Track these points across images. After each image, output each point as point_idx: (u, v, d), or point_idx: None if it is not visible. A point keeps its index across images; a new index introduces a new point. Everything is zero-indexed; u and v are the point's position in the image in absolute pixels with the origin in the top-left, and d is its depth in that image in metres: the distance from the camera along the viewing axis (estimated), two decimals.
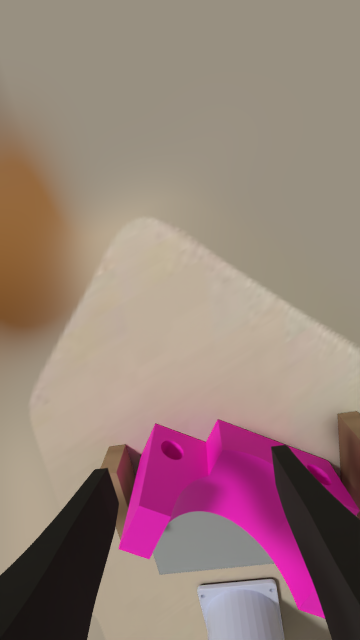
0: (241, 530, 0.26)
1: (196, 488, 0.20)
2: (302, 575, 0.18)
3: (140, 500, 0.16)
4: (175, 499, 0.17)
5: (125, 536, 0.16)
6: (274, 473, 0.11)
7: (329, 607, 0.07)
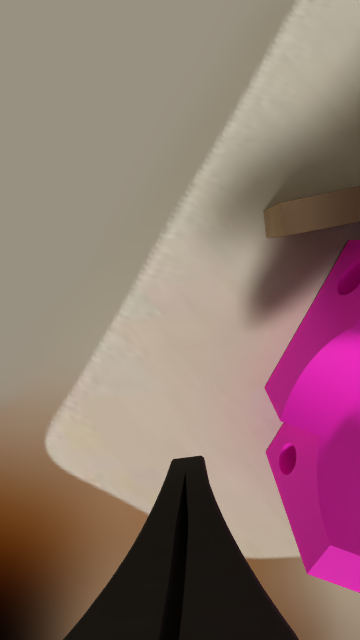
0: None
1: (336, 455, 0.15)
2: None
3: (305, 564, 0.13)
4: (320, 515, 0.13)
5: (357, 590, 0.13)
6: None
7: None
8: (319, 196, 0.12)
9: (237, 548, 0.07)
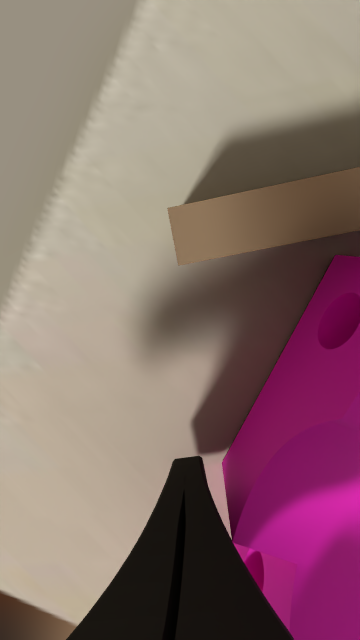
0: None
1: (321, 595, 0.09)
2: None
3: None
4: None
5: None
6: None
7: None
8: (233, 197, 0.07)
9: (234, 548, 0.07)
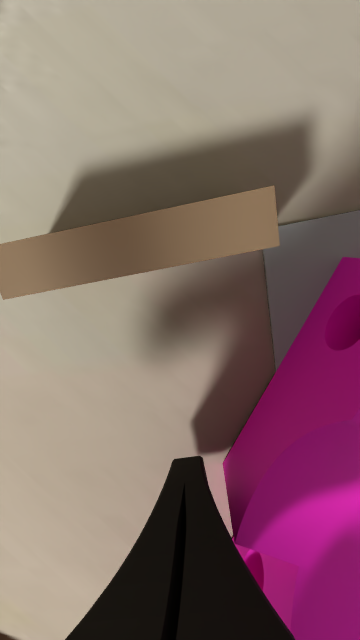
0: None
1: (322, 598, 0.09)
2: None
3: None
4: None
5: None
6: None
7: None
8: (41, 238, 0.07)
9: (235, 548, 0.07)
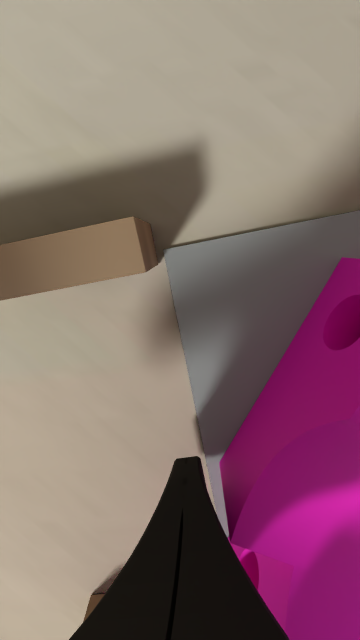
0: None
1: (316, 598, 0.09)
2: None
3: None
4: None
5: None
6: None
7: None
8: None
9: (231, 549, 0.07)
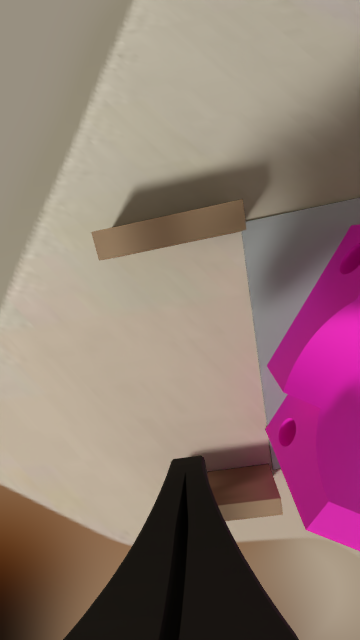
0: None
1: (334, 426, 0.16)
2: None
3: (303, 521, 0.14)
4: (319, 477, 0.14)
5: (351, 546, 0.13)
6: None
7: None
8: (122, 226, 0.14)
9: (237, 548, 0.07)
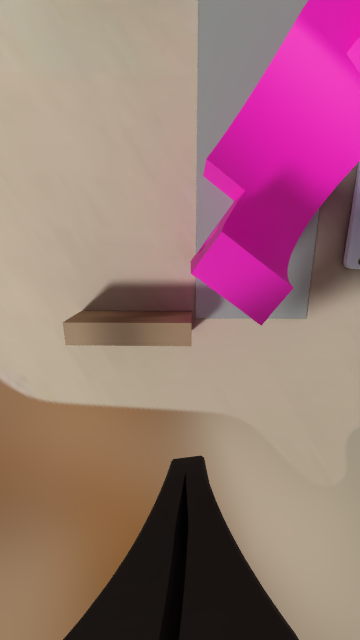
0: None
1: (256, 212, 0.14)
2: None
3: None
4: (222, 229, 0.12)
5: (241, 308, 0.11)
6: None
7: None
8: None
9: (237, 548, 0.07)
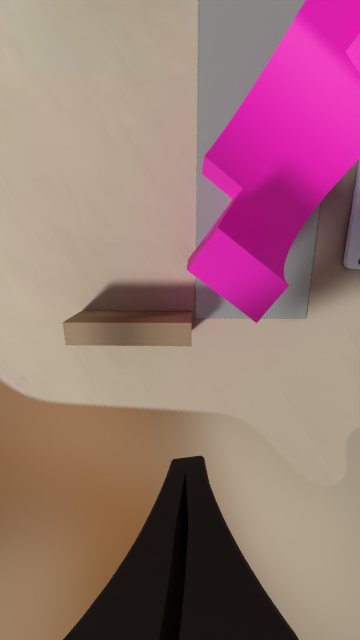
0: None
1: (253, 210, 0.14)
2: None
3: (188, 268, 0.11)
4: (218, 225, 0.12)
5: (236, 305, 0.11)
6: None
7: None
8: None
9: (237, 548, 0.07)
